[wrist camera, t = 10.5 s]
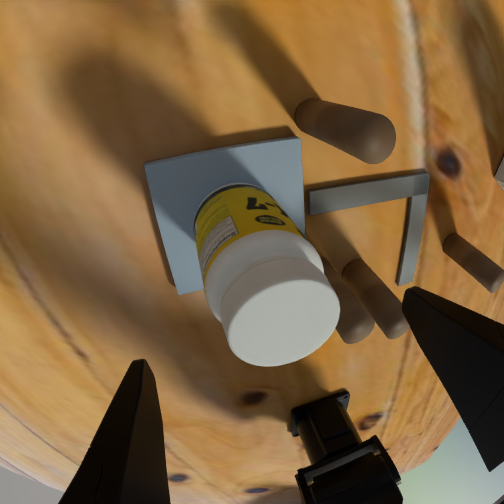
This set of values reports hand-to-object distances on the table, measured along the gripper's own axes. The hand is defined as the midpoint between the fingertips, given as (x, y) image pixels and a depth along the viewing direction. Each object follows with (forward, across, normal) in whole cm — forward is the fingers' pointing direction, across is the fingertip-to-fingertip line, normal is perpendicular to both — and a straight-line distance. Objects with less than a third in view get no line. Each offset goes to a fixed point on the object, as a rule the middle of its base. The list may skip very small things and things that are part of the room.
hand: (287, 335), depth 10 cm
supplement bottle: (+9, 0, 0) cm, 9 cm away
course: (+9, -11, +2) cm, 15 cm away
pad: (+10, 0, 0) cm, 10 cm away
